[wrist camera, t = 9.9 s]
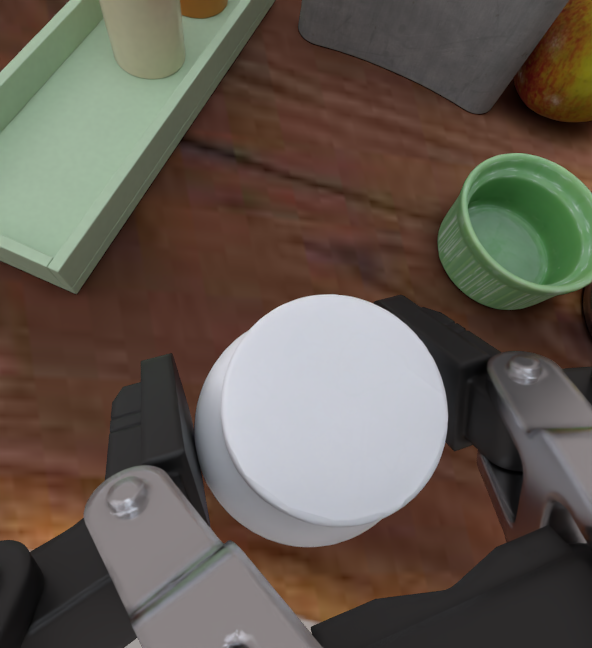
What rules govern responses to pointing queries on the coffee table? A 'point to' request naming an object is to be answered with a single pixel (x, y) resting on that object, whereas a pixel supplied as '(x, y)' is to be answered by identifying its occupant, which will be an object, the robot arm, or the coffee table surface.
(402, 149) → the coffee table surface
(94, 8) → the tray
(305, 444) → the pill bottle
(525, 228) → the ramekin
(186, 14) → the amber bottle
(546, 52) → the fruit
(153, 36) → the cream bottle
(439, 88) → the hip flask
